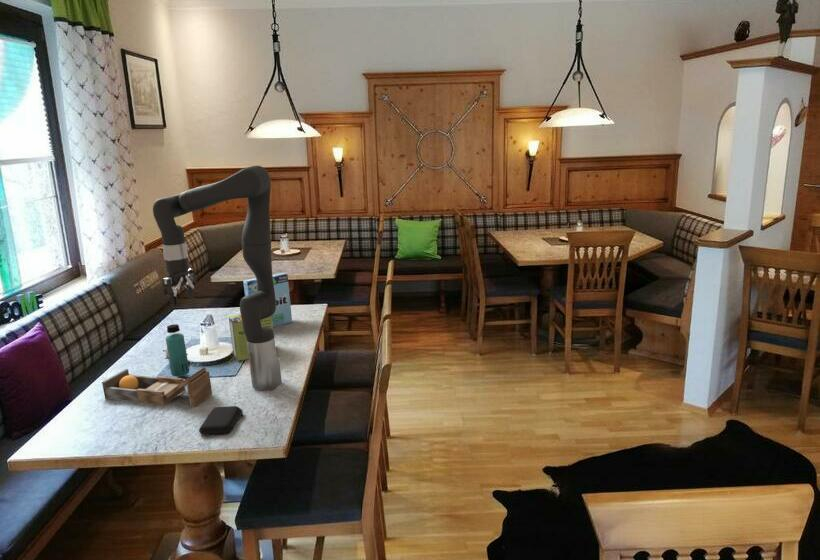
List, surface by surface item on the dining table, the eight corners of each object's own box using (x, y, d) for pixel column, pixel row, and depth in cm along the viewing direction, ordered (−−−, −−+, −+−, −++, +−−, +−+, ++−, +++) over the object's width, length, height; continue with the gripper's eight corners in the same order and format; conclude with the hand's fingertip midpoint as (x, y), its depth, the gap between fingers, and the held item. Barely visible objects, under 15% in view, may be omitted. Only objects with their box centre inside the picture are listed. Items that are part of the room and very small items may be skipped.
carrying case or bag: (234, 436, 171) (246, 412, 185) (232, 426, 170) (245, 403, 184) (197, 438, 170) (213, 414, 185) (196, 428, 170) (211, 405, 184)
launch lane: (214, 393, 198) (210, 366, 196) (194, 408, 188) (189, 379, 186) (128, 384, 208) (123, 358, 206) (105, 398, 198) (99, 371, 196)
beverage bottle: (184, 381, 209) (176, 328, 204) (167, 380, 210) (159, 328, 205) (194, 373, 215) (186, 322, 210) (178, 372, 217) (170, 322, 211)
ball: (139, 372, 202) (144, 388, 203) (125, 372, 204) (130, 388, 205) (126, 379, 196) (131, 395, 198) (112, 380, 198) (117, 396, 200)
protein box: (276, 353, 231) (272, 316, 227) (237, 361, 225) (232, 323, 221) (270, 345, 241) (266, 309, 236) (232, 352, 234) (227, 316, 230)
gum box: (252, 332, 257) (246, 282, 251) (248, 329, 261) (242, 280, 255) (292, 322, 268) (288, 274, 262) (288, 319, 272) (283, 272, 266)
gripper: (180, 251, 202) (186, 296, 206) (152, 261, 189) (159, 308, 193) (198, 252, 200) (205, 297, 204) (171, 262, 187) (178, 309, 191)
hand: (183, 302), depth 199 cm, fingers open, 8 cm apart
